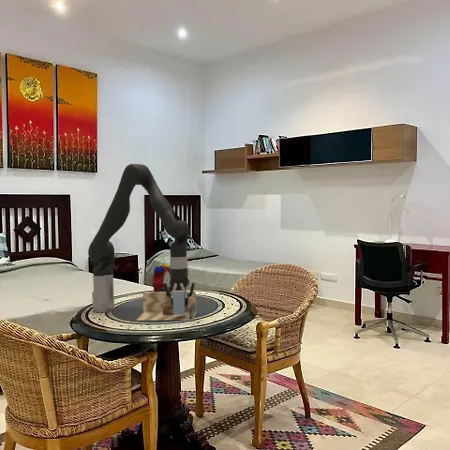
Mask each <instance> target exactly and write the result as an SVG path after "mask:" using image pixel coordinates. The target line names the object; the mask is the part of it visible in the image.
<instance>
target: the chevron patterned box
mask: <svg viewBox="0 0 450 450" xmlns="http://www.w3.org/2000/svg"><path fill="white" fill-rule="evenodd" d="M187 293H188V294H189V293H190V291H187ZM196 293H197V292H196V291H193V294H192V296H191V297H188V305H187V306H186V312H185V314H184V315H174V314H173V305H171V297H167V295H166V292H154V291H144V292H142V305H143V312H142V313H141V314H140V315H139V316H138V317H137V318H136V319H135V321H190V322H191V323H192V322H193V321H194V319H193V318H195V317H194V316H196V315H195V314H197V300H196V299H197V297H196V296H197V294H196ZM170 294H172V292H170ZM192 320H193V321H192Z"/></svg>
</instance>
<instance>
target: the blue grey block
mask: <svg viewBox="0 0 450 450" xmlns="http://www.w3.org/2000/svg"><path fill="white" fill-rule="evenodd" d="M185 312H186V307H185V296H184V290H173V314H174V315H184V314H185Z"/></svg>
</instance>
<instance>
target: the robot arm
mask: <svg viewBox="0 0 450 450" xmlns="http://www.w3.org/2000/svg"><path fill="white" fill-rule="evenodd" d="M136 186H141V187H142V188H144V190H145V191H146V192H147V194H148V197H149V201H150V204H151V207H152V209H153V211H154V212H155V213H156V215H157V216H158V218H159V219H160V220H161V224H162V226H163V229H164V230H165V232H166V234H167V235H168V236H169V237H171V238H174V241H173V242H172V243H171V244H170V245H169V254H170V255H169V257H170V259H169V266H170V269H169V270H170V282H167V283H164V284H163V285H164V289H165V292H166V295H167V297H171V305H173V291H172V294H170V291H169V288H168V287H169V284H170V285H171V286H172V288H173V290H184V296H185V307H186V306H187V305H188V297H191V296H192V294H193V292H194V289H195V286H196V282H194V281H193V282H192V281H190V279H189V273H188V272H189V264H188V256H187V252H188V251H187V249H188V248H187V245H188V241H189V237H190V227H189V224H188V223H187V221H186V220H183V219H181V220H180V219H179V220H176V218H175V214H176V212H175V209H174V208H173V207H172V205H171V203H170V202H169V201H168V200H167V199H166V197H165V196H164V194H163V192H162V191H161V189H160V187H159V185H158V183H157V181H156V179H155V178H154V175H153V174H152V172H151V170H150V169H149V167H148V166H147V165H145V164H142V163H130V164H128V165H126V166H125V168H124V170H123V172H122V175H121V178H120V180H119V184H118V187H117V189H116V192H115V194H114V196H113V198H112V200H111V201H112V202H111V204H109V207H108V210H107V211H106V215H105V216H104V218H103V220H102V222H101V225H100V227H99V229H98V231H97V232H96V234H95V236H94V238H93V240H91V242H90V244H89V247H88V251H87V254H88V258H89V259H90V260H91V261H93V262H99V263H98V265H97V266H96V267H94V268H93V270H92V277H93V278H92V279H93V280H92V282H93V283H92V284H93V291H92V294H91V296H92V297H91V299H92V312H93V313H109V312H110V313H111V312H112V311H113V310H114V309H115V293H114V291H115V290H114V289H115V288H114V269H115V256H116V254H115V247H114V244H113V243H112V242H111V241H110V240H111V238H112V237H113V236H114V235H115V234H116V233H117V232H118V231H119V230H120V229H121V228H122V227H123V226H124V225H125V224H126V221H127V219H128V217H129V214H130V212H131V200H130V199H131V196H132V193H133V190H134V188H135V187H136ZM188 286H189V288H190V290H189V292H190V293H189V294H188V293H187V292H188V289H187V287H188Z"/></svg>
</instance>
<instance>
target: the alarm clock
mask: <svg viewBox="0 0 450 450" xmlns="http://www.w3.org/2000/svg"><path fill="white" fill-rule="evenodd" d="M162 260H163V263H162V264H161V261H162ZM150 279H151V280H152V281H151V283H152V288H153V292H158V291H159V288H164V285H163V284H164V283H167V282H170V264H168V263H166V261H165V259H164V258H161V259H160V260H159V262H158V265H156V266H155V267H154V269H153V275H152V276H150ZM169 286H170V284H169Z"/></svg>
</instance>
